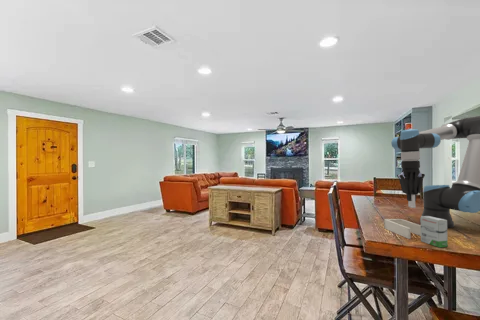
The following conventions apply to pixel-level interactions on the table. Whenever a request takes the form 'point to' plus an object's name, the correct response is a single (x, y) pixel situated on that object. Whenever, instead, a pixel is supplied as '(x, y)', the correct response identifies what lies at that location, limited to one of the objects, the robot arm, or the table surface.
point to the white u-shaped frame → (402, 227)
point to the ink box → (434, 231)
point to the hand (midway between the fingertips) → (411, 207)
